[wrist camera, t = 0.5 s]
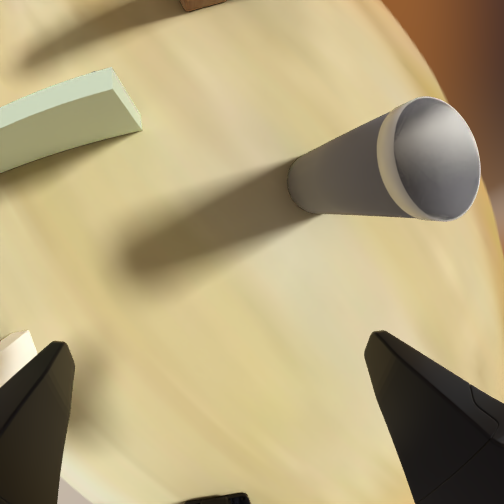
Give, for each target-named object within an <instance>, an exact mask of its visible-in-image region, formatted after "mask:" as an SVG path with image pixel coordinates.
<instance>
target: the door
mask: <svg viewBox="0 0 504 504" xmlns="http://www.w3.org/2000/svg"><path fill="white" fill-rule="evenodd" d="M137 131H142V124H141V115H140V113H139V111H138V110H137V108H136V106H135V105H134V103H133V101H132V100H131V98H130V96H129V95H128V93H127V91H126V90H125V88H124V86H123V85H122V83H121V82H120V80H119V78H118V77H117V75H116V73H115V71H114V70H113V68H112V67H110V68H106V69H103V70H99V71H94V72H91V73H89V74H86V75H82V76H79V77H76V78H73V79H70V80H67V81H64V82H61V83H58V84H56V85H53V86H50V87H48V88H45V89H42V90H40V91H37V92H35V93H32V94H30V95H27V96H25V97H23V98H20V99H18V100H16V101H13V102H11V103H9V104H7V105H5V106H3V107H0V173H2V172H5V171H8V170H10V169H13V168H15V167H18V166H21V165H23V164H26V163H29V162H32V161H35V160H38V159H41V158H43V157H46V156H50V155H53V154H56V153H59V152H62V151H65V150H69V149H72V148H75V147H79V146H82V145H86V144H89V143H93V142H97V141H100V140H104V139H108V138H112V137H116V136H120V135H124V134H128V133H133V132H137Z"/></svg>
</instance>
